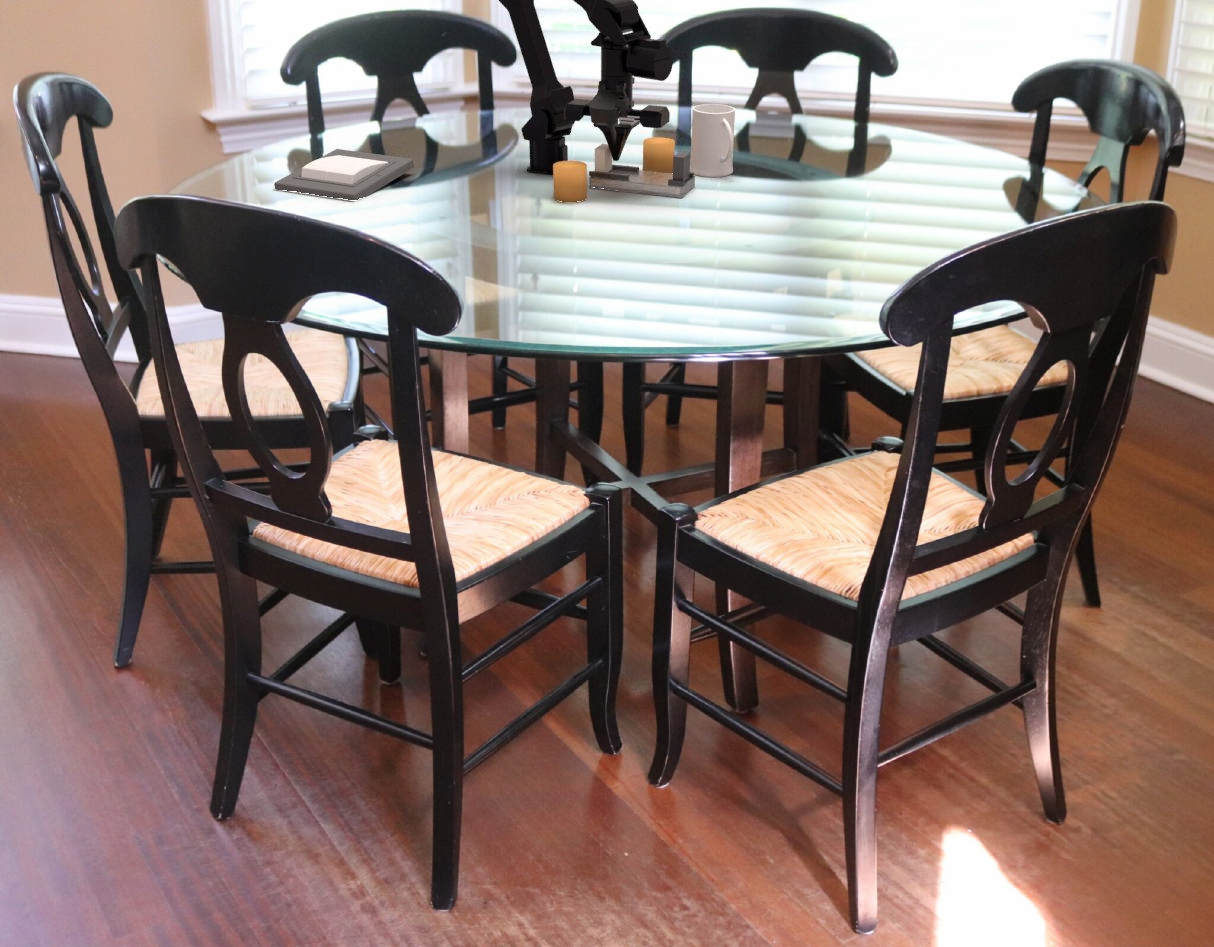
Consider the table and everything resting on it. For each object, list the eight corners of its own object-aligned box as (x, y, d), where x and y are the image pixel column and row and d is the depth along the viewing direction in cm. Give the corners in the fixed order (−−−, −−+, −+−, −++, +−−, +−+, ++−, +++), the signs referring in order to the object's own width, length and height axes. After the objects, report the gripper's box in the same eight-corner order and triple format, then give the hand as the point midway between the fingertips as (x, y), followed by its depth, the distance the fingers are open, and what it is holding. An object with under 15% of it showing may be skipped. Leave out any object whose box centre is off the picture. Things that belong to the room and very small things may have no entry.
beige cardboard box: (594, 173, 231) (594, 149, 229) (602, 167, 234) (602, 143, 232) (604, 174, 230) (604, 150, 228) (612, 168, 234) (612, 144, 232)
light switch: (271, 173, 227) (335, 139, 242) (276, 199, 230) (339, 163, 245) (352, 185, 221) (412, 149, 235) (355, 211, 223) (415, 174, 238)
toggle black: (672, 181, 227) (673, 156, 224) (679, 175, 230) (679, 151, 228) (683, 182, 226) (683, 157, 224) (689, 176, 229) (690, 152, 227)
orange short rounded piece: (638, 174, 239) (639, 143, 236) (648, 167, 244) (648, 136, 241) (668, 178, 237) (669, 146, 234) (677, 170, 242) (678, 139, 239)
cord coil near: (548, 200, 224) (548, 167, 221) (561, 192, 229) (560, 159, 226) (579, 204, 222) (579, 171, 219) (591, 195, 227) (591, 162, 224)
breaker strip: (587, 188, 231) (587, 173, 229) (602, 176, 237) (602, 162, 236) (681, 198, 225) (682, 183, 224) (694, 186, 232) (695, 171, 231)
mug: (747, 179, 236) (751, 115, 230) (705, 183, 234) (708, 119, 228) (722, 164, 246) (725, 102, 240) (682, 167, 243) (684, 105, 238)
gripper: (551, 78, 219) (553, 166, 227) (652, 86, 214) (650, 176, 221) (574, 67, 228) (575, 152, 236) (671, 74, 223) (669, 161, 230)
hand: (616, 160), depth 231 cm, fingers closed
